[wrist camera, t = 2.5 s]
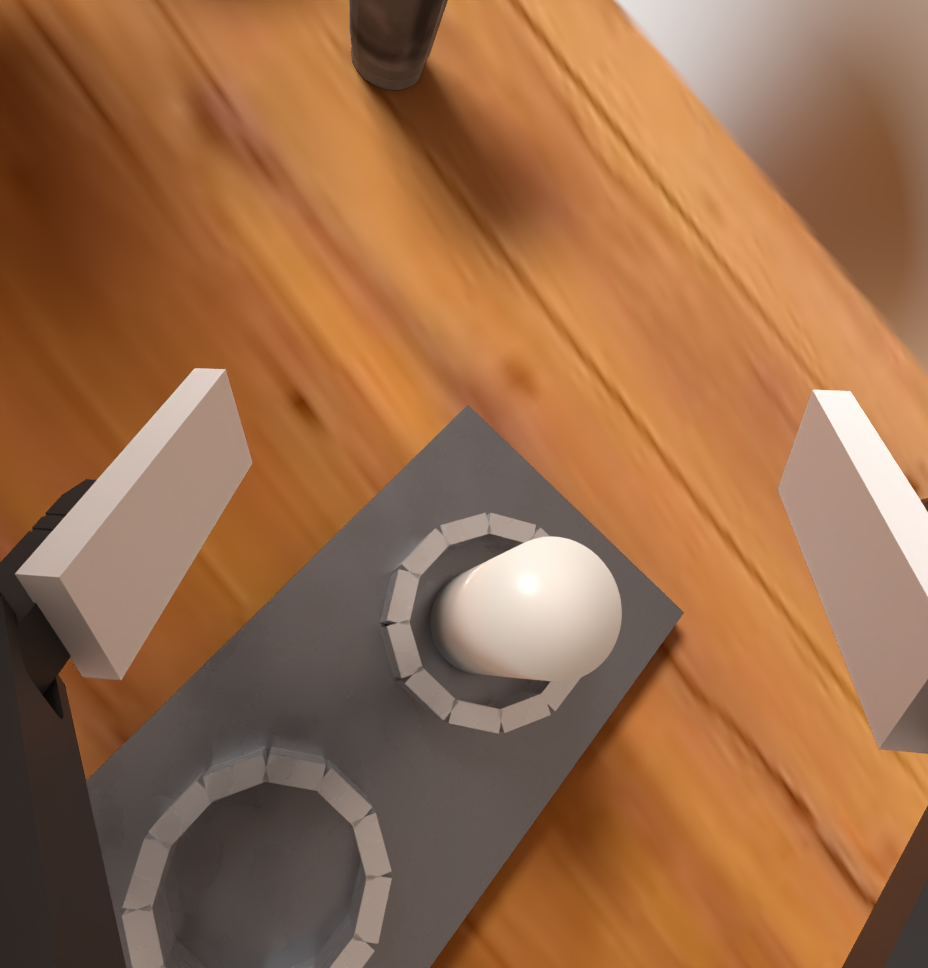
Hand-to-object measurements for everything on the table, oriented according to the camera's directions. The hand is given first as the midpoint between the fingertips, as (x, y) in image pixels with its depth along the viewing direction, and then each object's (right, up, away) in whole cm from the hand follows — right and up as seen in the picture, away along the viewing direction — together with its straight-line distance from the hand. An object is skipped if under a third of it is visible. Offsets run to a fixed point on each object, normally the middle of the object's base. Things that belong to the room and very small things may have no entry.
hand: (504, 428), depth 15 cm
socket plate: (-5, -13, +16) cm, 21 cm away
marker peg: (0, -8, +17) cm, 19 cm away
